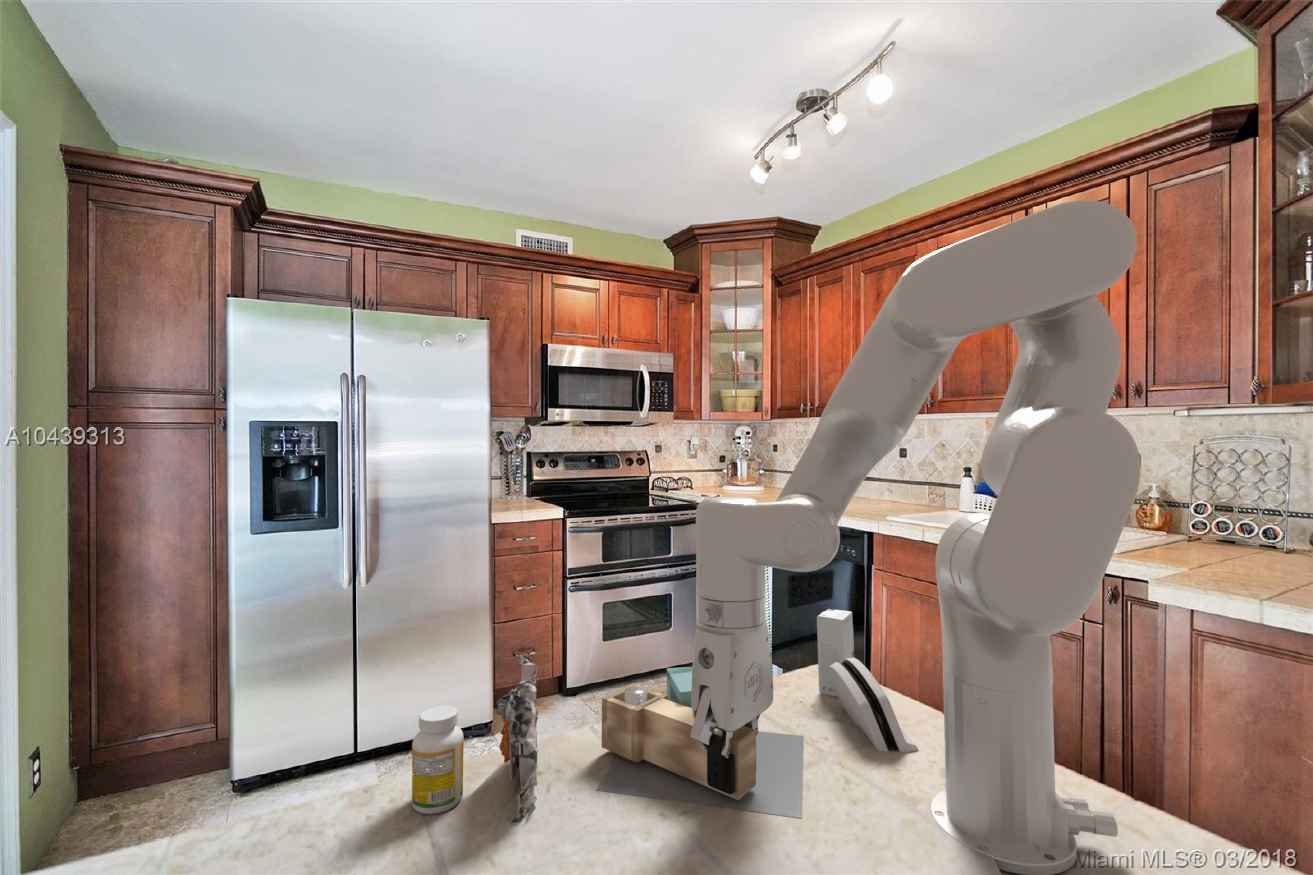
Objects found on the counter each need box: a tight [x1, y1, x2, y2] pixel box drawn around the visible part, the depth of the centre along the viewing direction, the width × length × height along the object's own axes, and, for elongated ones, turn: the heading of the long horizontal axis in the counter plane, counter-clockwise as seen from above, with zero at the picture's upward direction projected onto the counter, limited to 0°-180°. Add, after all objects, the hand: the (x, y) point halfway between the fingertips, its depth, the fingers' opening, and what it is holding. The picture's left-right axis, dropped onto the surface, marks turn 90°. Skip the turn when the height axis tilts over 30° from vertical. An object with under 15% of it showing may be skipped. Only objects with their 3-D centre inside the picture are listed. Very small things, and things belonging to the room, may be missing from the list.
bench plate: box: [595, 730, 805, 819], centre depth 71 cm, size 22×18×1 cm
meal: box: [494, 654, 539, 823], centre depth 67 cm, size 15×4×13 cm, turn 11°
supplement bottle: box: [411, 705, 465, 815], centre depth 66 cm, size 5×5×10 cm
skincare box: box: [816, 608, 855, 699], centre depth 96 cm, size 6×4×12 cm
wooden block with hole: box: [601, 683, 756, 800], centre depth 70 cm, size 19×6×6 cm, turn 51°
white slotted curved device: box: [829, 657, 919, 753], centre depth 82 cm, size 17×5×10 cm, turn 179°
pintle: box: [625, 685, 648, 706], centre depth 74 cm, size 3×3×8 cm
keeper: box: [666, 666, 692, 708], centre depth 76 cm, size 4×8×8 cm, turn 11°
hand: (732, 778), depth 65 cm, fingers closed on wooden block with hole, 3 cm apart
